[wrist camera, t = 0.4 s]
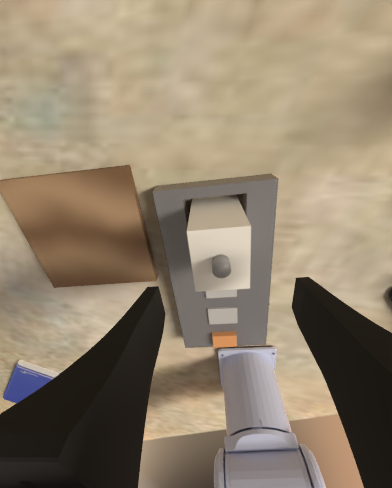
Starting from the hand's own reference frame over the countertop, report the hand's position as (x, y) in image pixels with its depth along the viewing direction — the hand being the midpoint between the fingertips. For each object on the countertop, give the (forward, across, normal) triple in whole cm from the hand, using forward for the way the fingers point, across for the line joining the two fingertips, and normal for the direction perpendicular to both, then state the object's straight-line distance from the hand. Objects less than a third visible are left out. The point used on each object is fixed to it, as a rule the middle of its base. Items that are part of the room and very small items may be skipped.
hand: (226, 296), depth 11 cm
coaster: (+10, +13, 0) cm, 17 cm away
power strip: (+10, 0, +6) cm, 12 cm away
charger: (+10, 0, 0) cm, 10 cm away
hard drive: (+11, +33, +28) cm, 44 cm away
